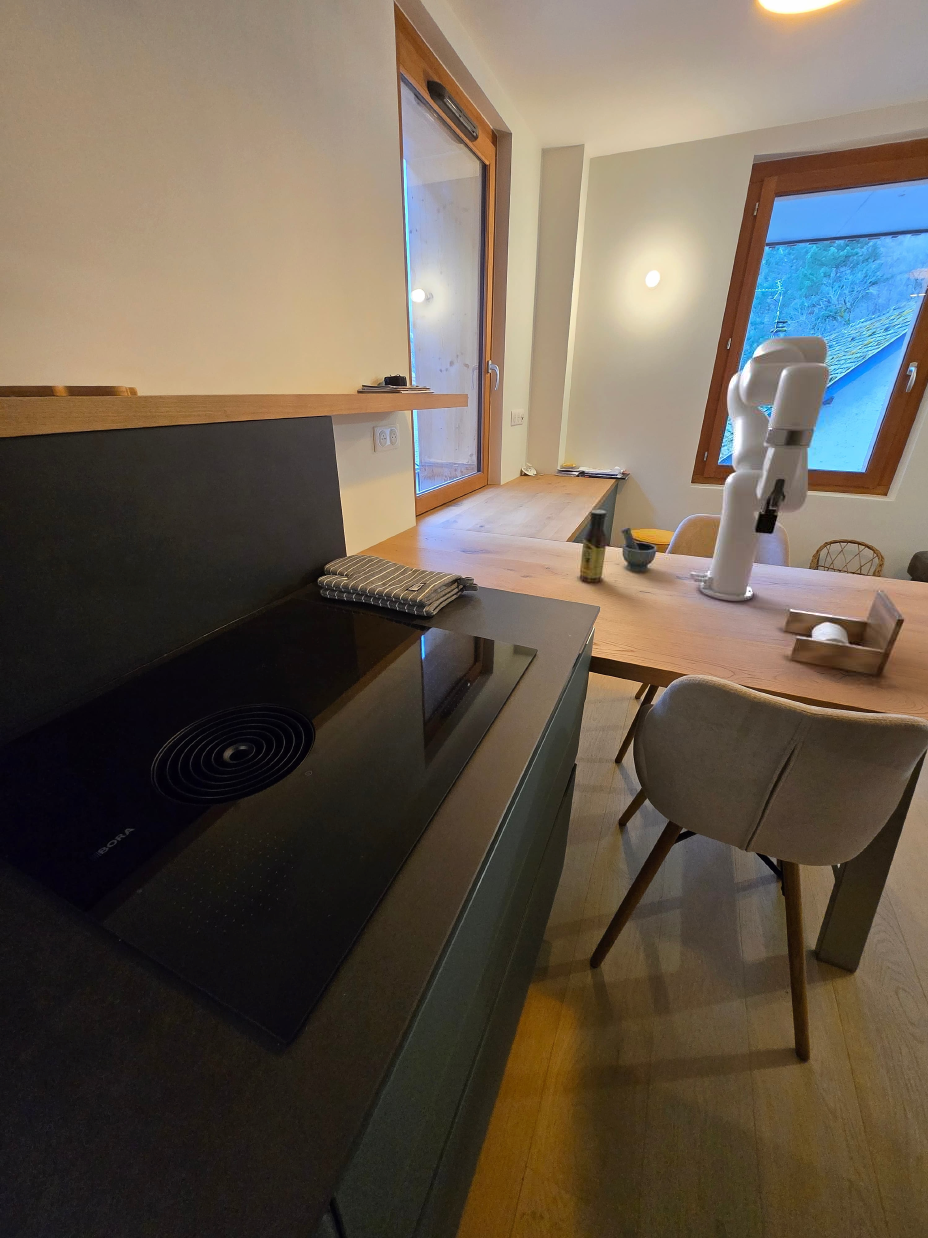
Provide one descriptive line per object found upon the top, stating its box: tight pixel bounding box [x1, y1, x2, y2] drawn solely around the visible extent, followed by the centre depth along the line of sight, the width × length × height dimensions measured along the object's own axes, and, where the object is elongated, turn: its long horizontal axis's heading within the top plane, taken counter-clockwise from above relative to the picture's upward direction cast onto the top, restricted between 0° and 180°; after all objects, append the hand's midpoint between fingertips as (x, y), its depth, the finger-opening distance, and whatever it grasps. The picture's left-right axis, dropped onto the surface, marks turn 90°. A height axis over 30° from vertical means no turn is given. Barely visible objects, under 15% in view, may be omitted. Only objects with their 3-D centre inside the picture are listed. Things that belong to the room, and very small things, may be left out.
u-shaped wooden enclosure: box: [783, 589, 905, 677], centre depth 100 cm, size 15×15×12 cm
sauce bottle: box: [579, 509, 608, 583], centre depth 137 cm, size 6×6×20 cm
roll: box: [811, 622, 850, 645], centre depth 102 cm, size 6×12×6 cm, turn 151°
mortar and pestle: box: [620, 526, 658, 573], centre depth 147 cm, size 11×9×12 cm
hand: (763, 532), depth 101 cm, fingers closed
